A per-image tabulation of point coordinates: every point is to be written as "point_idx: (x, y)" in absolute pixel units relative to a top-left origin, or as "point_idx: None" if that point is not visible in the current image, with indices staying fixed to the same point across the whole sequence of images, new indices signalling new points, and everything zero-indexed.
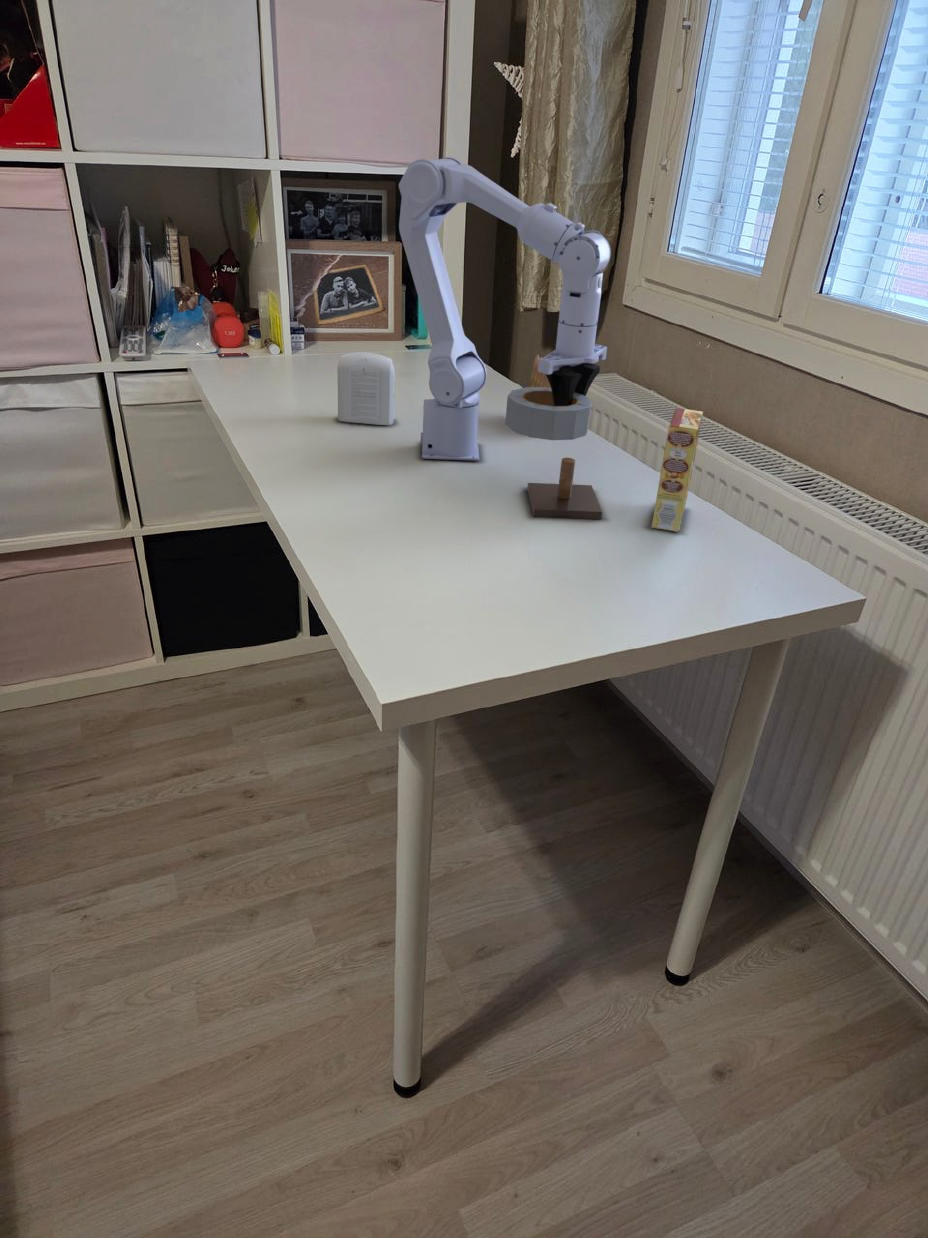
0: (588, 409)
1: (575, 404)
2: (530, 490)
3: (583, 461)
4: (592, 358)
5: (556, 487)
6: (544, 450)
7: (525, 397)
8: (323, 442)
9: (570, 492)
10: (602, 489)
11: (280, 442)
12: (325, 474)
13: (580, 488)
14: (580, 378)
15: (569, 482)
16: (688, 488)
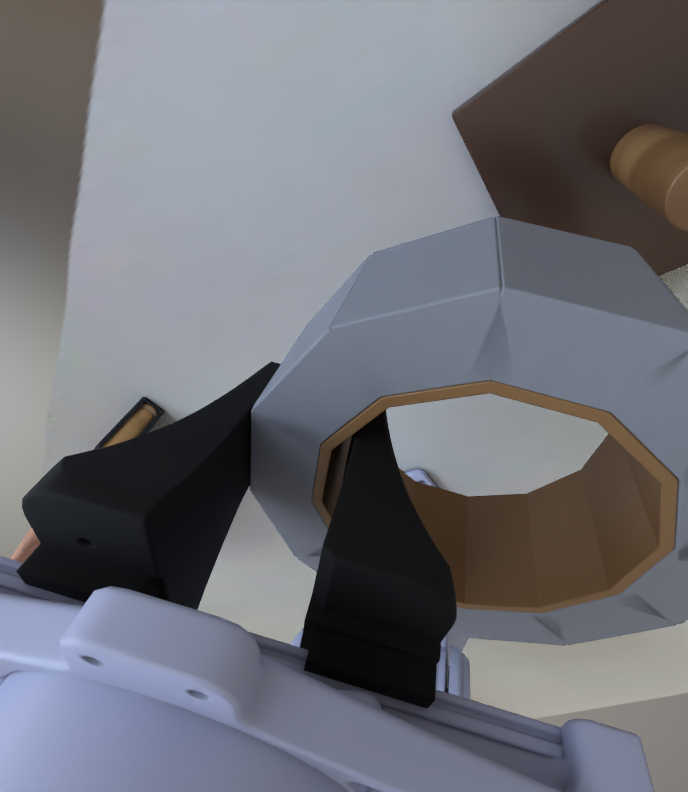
0: (518, 282)
1: (511, 389)
2: None
3: (221, 263)
4: (195, 687)
5: (550, 224)
6: (241, 377)
7: (458, 581)
8: (498, 653)
9: (663, 126)
10: (394, 84)
11: (535, 685)
12: (656, 632)
13: (513, 138)
14: (206, 503)
15: None
16: None
